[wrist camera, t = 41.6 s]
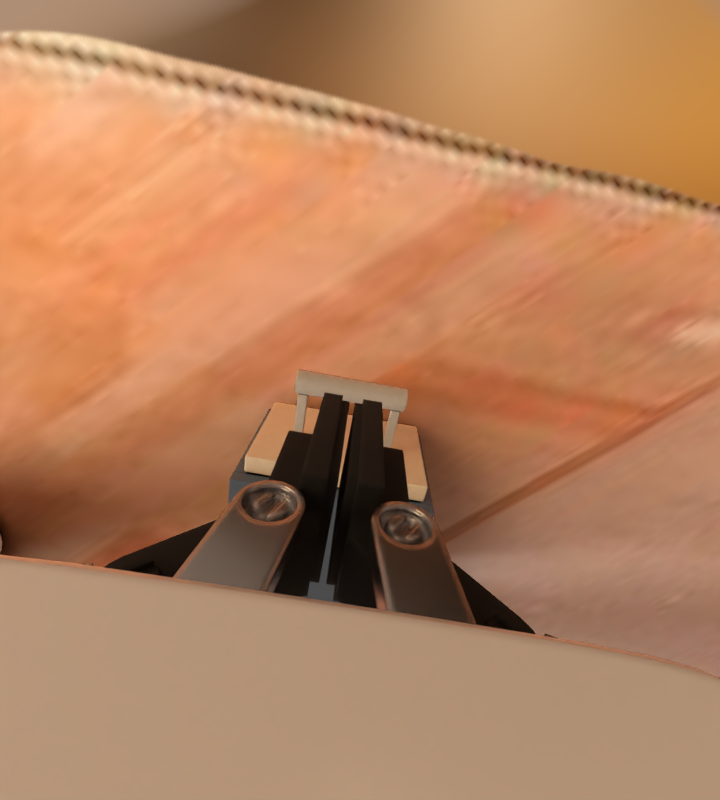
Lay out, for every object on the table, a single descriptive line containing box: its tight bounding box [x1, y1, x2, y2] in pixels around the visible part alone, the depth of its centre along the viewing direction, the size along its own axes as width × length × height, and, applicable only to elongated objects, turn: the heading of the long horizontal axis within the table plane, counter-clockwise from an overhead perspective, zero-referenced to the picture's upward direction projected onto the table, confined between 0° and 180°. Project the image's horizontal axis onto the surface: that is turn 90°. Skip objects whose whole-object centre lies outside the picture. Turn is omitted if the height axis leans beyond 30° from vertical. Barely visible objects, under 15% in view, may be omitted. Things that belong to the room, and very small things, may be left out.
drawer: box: [244, 370, 428, 502], centre depth 29 cm, size 18×11×8 cm, turn 170°
